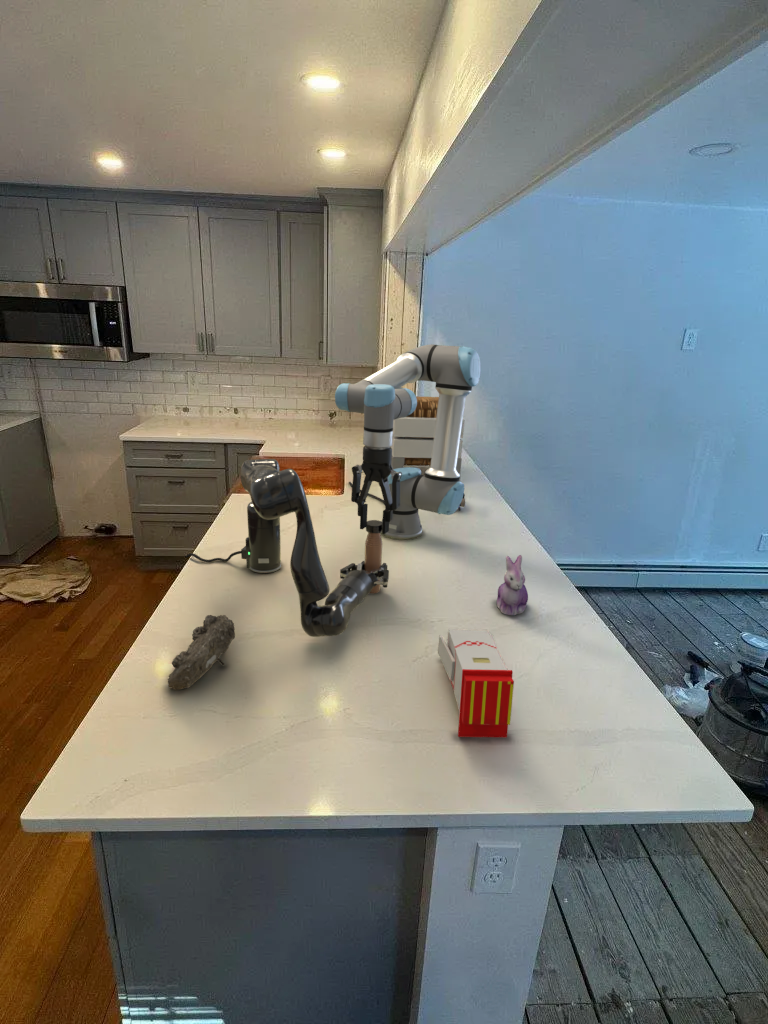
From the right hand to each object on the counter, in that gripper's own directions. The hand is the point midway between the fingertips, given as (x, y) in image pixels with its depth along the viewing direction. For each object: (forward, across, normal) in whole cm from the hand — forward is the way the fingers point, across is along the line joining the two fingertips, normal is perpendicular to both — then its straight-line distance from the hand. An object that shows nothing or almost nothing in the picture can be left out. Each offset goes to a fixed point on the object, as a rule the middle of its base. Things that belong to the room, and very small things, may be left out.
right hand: (374, 529), depth 154 cm
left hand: (+11, 0, -3) cm, 12 cm away
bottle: (+18, 0, 0) cm, 18 cm away
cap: (-2, 0, 0) cm, 2 cm away
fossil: (+18, +16, +49) cm, 55 cm away
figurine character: (+18, +2, -81) cm, 83 cm away
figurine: (+18, -38, -9) cm, 43 cm away
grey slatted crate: (+18, +32, -120) cm, 125 cm away
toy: (+18, -38, +31) cm, 52 cm away
